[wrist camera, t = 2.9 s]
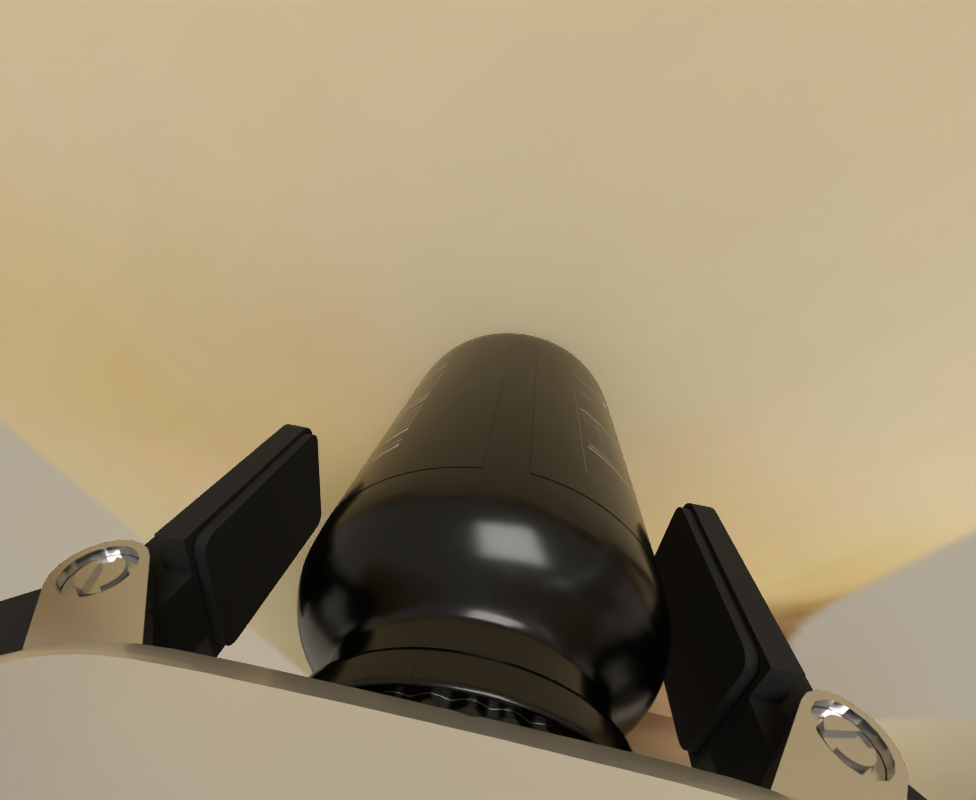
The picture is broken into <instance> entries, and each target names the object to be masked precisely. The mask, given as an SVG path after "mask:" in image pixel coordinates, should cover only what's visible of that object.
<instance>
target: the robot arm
mask: <svg viewBox="0 0 976 800" xmlns="http://www.w3.org/2000/svg"><path fill="white" fill-rule="evenodd" d="M320 518H321V499H320V479H319V460H318V440H317V437H316V436H315V435H312V432H311V430H310V429H309V428H305V427H300V426H295V425H290V424H286V425H284V426H283V427H282V428H280V429H279V430H278V431H277V432H276V433H275V434H273V435H272V436H271V437H270V438H269V439H267V440H266V441H265V442H264V443H263V444H261V445H260V446H259V447H258V448H257V449H256V450H254V451H253V452H252V453H251V454H250V455H248V456H247V457H246V458H245V459H244V460H242V461H241V462H240V463H239V464H238V465H236V466H235V467H234V468H233V469H232V470H231V471H229V472H228V473H227V474H226V475H225V476H223V477H222V478H221V479H220V480H219V481H217V482H216V483H215V484H214V485H213V486H211V487H210V488H209V489H208V490H207V491H206V492H204V493H203V494H202V495H201V496H200V497H198V498H197V499H196V500H195V501H194V502H192V503H191V504H190V505H189V506H188V507H186V508H185V509H184V510H183V511H182V512H181V513H179V514H178V515H177V516H176V517H175V518H173V519H172V520H171V521H170V522H169V523H167V524H166V525H165V526H164V527H163V528H161V529H160V530H159V531H158V532H157V533H156V534H154V535H155V537H154V538H153V539H151V540H150V541H149V542H148V543H147V544H145V545H143V544H142V543H139V542H136V541H133V540H117V541H110V542H104V543H101V544H98V545H95V546H92V547H89V548H87V549H84V550H82V551H80V552H78V553H76V554H74V555H72V556H71V557H69V558H68V559H66V560H65V561H63V562H62V563H60V564H59V565H58V566H57V567H56V568H55V569H54V570H53V571H52V572H51V573H50V574H49V575H48V577H47V579H46V581H45V583H44V584H43V587H42V589H39V590H36V591H33V592H29V593H26V594H22V595H20V596H16V597H13V598H10V599H6V600H3V601H0V800H927V799H925V798H924V797H923V796H922V795H921V794H919V793H918V792H917V791H916V790H914V789H913V788H912V787H911V786H910V785H908V775H907V768H906V765H905V763H904V761H903V759H902V757H901V754H900V752H899V750H898V749H897V748H896V746H895V745H894V743H893V742H892V741H891V739H890V738H889V736H888V735H887V734H886V733H885V732H884V731H883V730H882V729H881V727H880V726H879V725H878V724H877V723H876V722H875V721H874V720H873V719H872V718H871V717H869V716H868V715H867V714H866V713H864V712H863V711H862V710H861V709H860V708H858V707H857V706H855V705H854V704H852V703H851V702H849V701H847V700H846V699H844V698H842V697H840V696H838V695H835V694H832V693H830V692H828V691H821V690H813V689H812V688H811V686H810V684H809V682H808V680H807V679H806V677H805V673H804V671H803V669H802V668H801V666H800V664H799V662H798V660H797V658H796V657H795V655H794V653H793V651H792V649H791V648H790V646H789V644H788V642H787V640H786V638H785V637H784V635H783V633H782V631H781V629H780V628H779V626H778V624H777V622H776V620H775V618H774V617H773V615H772V613H771V611H770V609H769V608H768V606H767V604H766V602H765V600H764V598H763V597H762V595H761V593H760V591H759V589H758V588H757V586H756V584H755V582H754V580H753V578H752V577H751V575H750V573H749V571H748V569H747V568H746V566H745V564H744V562H743V560H742V558H741V557H740V555H739V553H738V551H737V549H736V548H735V546H734V544H733V542H732V540H731V538H730V537H729V535H728V533H727V531H726V529H725V528H724V526H723V524H722V522H721V520H720V518H719V517H718V515H717V513H716V511H715V510H714V509H713V508H711V507H706V506H701V505H696V504H691V503H687V504H686V505H684V507H683V508H681V507H679V508H677V509H676V511H675V513H674V515H673V517H672V519H671V521H670V524H669V526H668V528H667V530H666V532H665V535H664V537H663V539H662V541H661V543H660V546H659V548H658V550H657V552H656V554H655V561H656V564H657V567H658V570H659V573H660V577H661V580H662V584H663V588H664V592H665V596H666V600H667V605H668V609H669V614H670V620H671V649H670V657H669V662H668V667H667V670H666V674H665V677H664V680H663V681H664V685H665V689H666V693H667V697H668V701H669V705H670V709H671V713H672V717H673V722H674V726H675V730H676V734H677V738H678V741H679V744H680V746H681V748H682V749H683V750H686V751H688V755H689V758H690V762H691V766H692V767H688V766H684V765H680V764H676V763H672V762H668V761H664V760H661V759H657V758H653V757H649V756H645V755H641V754H637V753H632V752H628V751H624V750H620V749H615V748H611V747H607V746H603V745H598V744H594V743H590V742H586V741H582V740H577V739H573V738H569V737H565V736H560V735H556V734H552V733H548V732H544V731H539V730H535V729H531V728H527V727H522V726H518V725H513V724H510V723H505V722H501V721H497V720H492V719H488V718H484V717H472V716H467V715H465V714H462V713H460V712H458V711H453V710H449V709H445V708H440V707H436V706H432V705H426V704H423V703H419V702H414V701H410V700H406V699H401V698H397V697H393V696H388V695H384V694H380V693H375V692H371V691H366V690H362V689H357V688H353V687H349V686H344V685H340V684H335V683H331V682H326V681H322V680H317V679H313V678H309V677H304V676H300V675H295V674H291V673H286V672H281V671H277V670H273V669H268V668H264V667H259V666H255V665H251V664H246V663H240V662H236V661H231V660H226V659H221V658H216V657H217V656H218V655H219V653H220V652H221V650H222V649H223V648H224V646H225V645H228V646H229V645H232V644H233V643H234V642H235V641H236V640H237V638H238V637H239V636H240V634H241V633H242V631H243V630H244V629H245V627H246V626H247V624H248V623H249V622H250V620H251V619H252V617H253V616H254V615H255V613H256V612H257V610H258V609H259V608H260V606H261V605H262V603H263V602H264V601H265V599H266V598H267V596H268V595H269V594H270V592H271V591H272V589H273V588H274V587H275V585H276V584H277V582H278V581H279V580H280V578H281V577H282V575H283V574H284V573H285V571H286V570H287V568H288V567H289V566H290V564H291V563H292V561H293V560H294V559H295V557H296V556H297V554H298V553H299V552H300V550H301V549H302V547H303V546H304V545H305V543H306V542H307V540H308V539H309V538H310V536H311V535H312V533H313V532H314V530H315V529H316V528H317V526H318V524H319V521H320Z"/></svg>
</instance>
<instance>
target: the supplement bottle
mask: <svg viewBox="0 0 976 800" xmlns="http://www.w3.org/2000/svg"><path fill="white" fill-rule="evenodd" d="M297 617H298V628H299V634H300V639H301V643H302V647H303V650H304V653H305V656H306V659H307V661H308V663H309V665H310V667H311V670H312V672H313V674H312V675H310V676H309V678H313V679H317V680H322V681H326V682H331V683H335V684H340V685H344V686H349V687H353V688H357V689H362V690H366V691H371V692H375V693H380V694H384V695H388V696H393V697H397V698H401V699H406V700H410V701H414V702H419V703H423V704H426V705H432V706H436V707H440V708H445V709H449V710H453V711H458V712H460V713H462V714H465V715H467V716H472V717H484V718H488V719H492V720H497V721H501V722H505V723H510V724H513V725H518V726H522V727H527V728H531V729H535V730H539V731H544V732H548V733H552V734H556V735H560V736H565V737H569V738H573V739H577V740H582V741H586V742H590V743H594V744H598V745H603V746H607V747H611V748H615V749H620V750H624V751H628V752H632V753H634V752H633V750H632V748H631V746H630V744H629V742H628V740H627V739H626V736H627V735H628V734H629V733H630V732H631V731H632V730H633V729H634V728H635V727H636V726H637V725H638V724H639V723H640V722H641V721H642V720H643V718H644V717H645V715H646V714H647V712H648V711H649V709H650V708H651V706H652V705H653V703H654V701H655V699H656V697H657V695H658V693H659V691H660V689H661V686H662V683H663V680H664V677H665V674H666V670H667V667H668V662H669V657H670V649H671V620H670V614H669V609H668V605H667V600H666V596H665V592H664V588H663V584H662V580H661V577H660V573H659V570H658V567H657V564H656V561H655V557H654V554H653V551H652V548H651V544H650V541H649V538H648V535H647V532H646V528H645V525H644V522H643V519H642V515H641V512H640V509H639V506H638V503H637V499H636V496H635V493H634V490H633V486H632V483H631V480H630V477H629V474H628V470H627V467H626V464H625V461H624V457H623V454H622V451H621V448H620V445H619V441H618V438H617V435H616V432H615V429H614V425H613V422H612V419H611V416H610V413H609V410H608V407H607V404H606V401H605V399H604V396H603V393H602V391H601V389H600V387H599V385H598V383H597V382H596V380H595V379H594V377H593V375H592V374H591V373H590V372H589V370H588V369H587V368H586V367H585V366H584V365H583V364H582V363H581V362H580V361H579V360H578V359H577V358H576V357H575V356H573V355H572V354H571V353H569V352H568V351H566V350H565V349H563V348H561V347H559V346H558V345H556V344H554V343H551V342H549V341H547V340H544V339H541V338H537V337H534V336H529V335H523V334H512V333H503V334H493V335H487V336H482V337H479V338H475V339H473V340H470V341H467V342H465V343H463V344H461V345H459V346H457V347H456V348H454V349H453V350H451V351H449V352H448V353H447V354H446V355H444V356H443V357H442V358H441V359H440V360H439V361H438V362H437V363H436V364H435V365H434V366H433V367H432V369H431V370H430V371H429V372H428V374H427V375H426V376H425V378H424V379H423V380H422V382H421V383H420V385H419V386H418V387H417V389H416V390H415V392H414V393H413V395H412V396H411V398H410V399H409V401H408V402H407V404H406V405H405V406H404V408H403V409H402V411H401V412H400V414H399V415H398V417H397V418H396V420H395V421H394V423H393V424H392V426H391V427H390V428H389V430H388V431H387V433H386V434H385V436H384V437H383V439H382V440H381V442H380V443H379V445H378V446H377V448H376V449H375V450H374V452H373V453H372V455H371V456H370V458H369V459H368V461H367V462H366V464H365V465H364V467H363V468H362V470H361V471H360V472H359V474H358V475H357V477H356V478H355V480H354V481H353V483H352V484H351V486H350V487H349V489H348V490H347V492H346V493H345V494H344V496H343V497H342V499H341V500H340V502H339V503H338V505H337V506H336V508H335V509H334V511H333V512H332V514H331V515H330V517H329V518H328V520H327V521H326V523H325V524H324V526H323V528H322V529H321V531H320V533H319V535H318V536H317V538H316V540H315V541H314V543H313V545H312V547H311V548H310V550H309V553H308V555H307V557H306V560H305V562H304V565H303V569H302V573H301V576H300V581H299V589H298V599H297Z"/></svg>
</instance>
